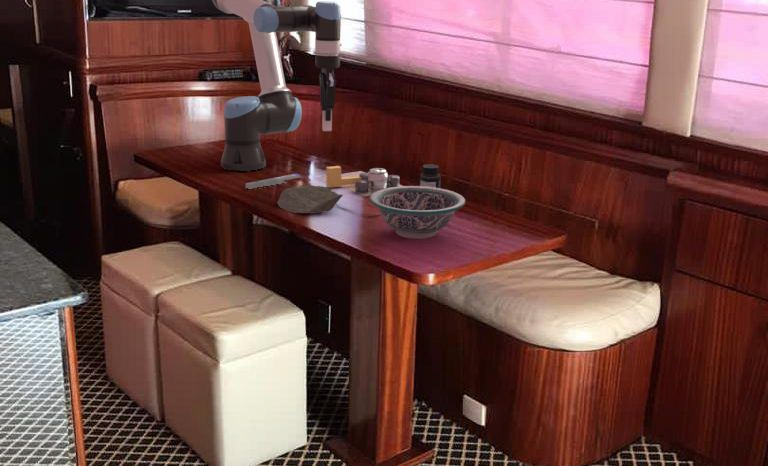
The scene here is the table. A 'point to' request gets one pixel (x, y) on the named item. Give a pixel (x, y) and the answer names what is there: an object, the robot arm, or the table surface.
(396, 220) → the bowl
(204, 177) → the table surface
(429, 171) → the pill bottle
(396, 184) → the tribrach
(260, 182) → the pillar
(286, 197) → the stone
